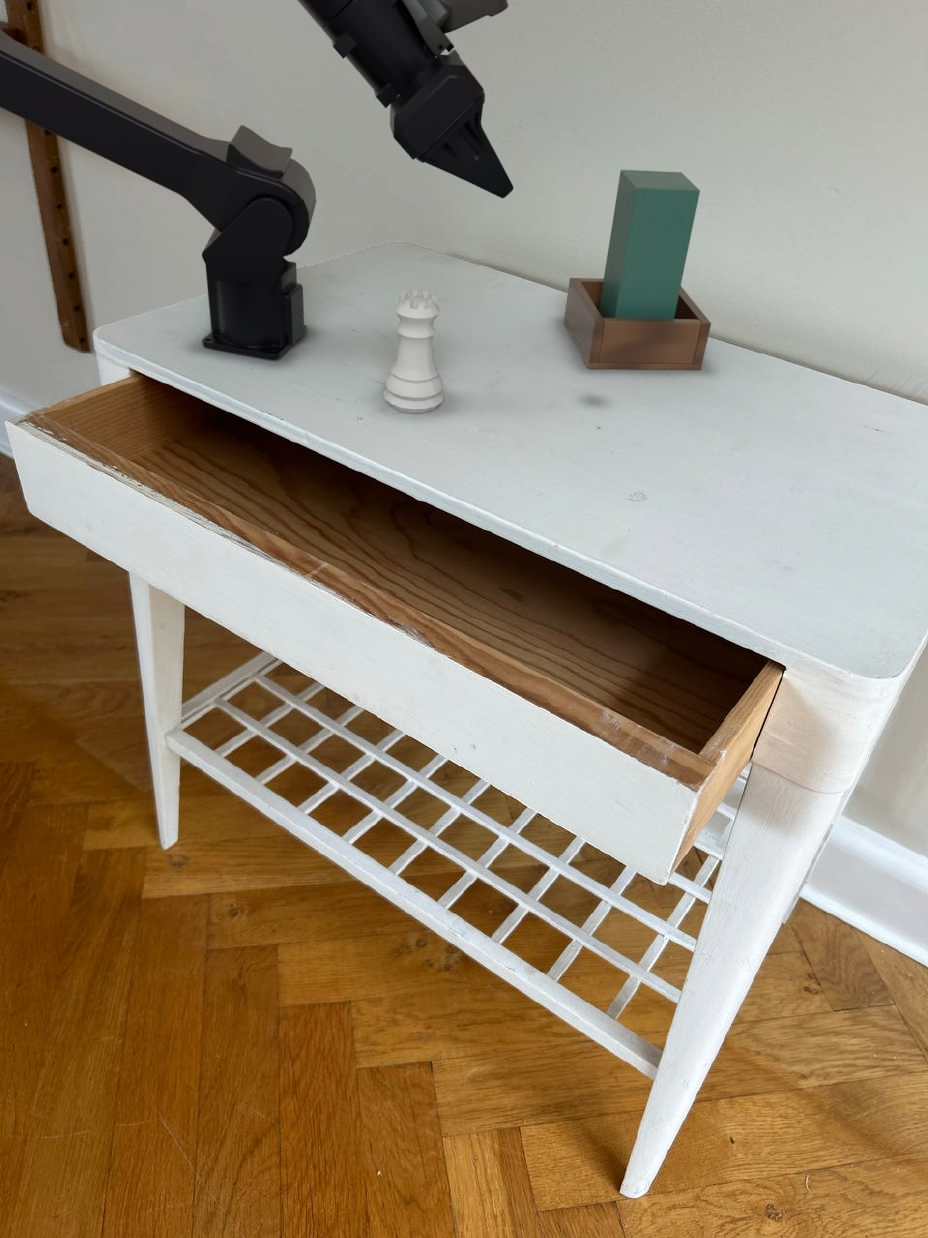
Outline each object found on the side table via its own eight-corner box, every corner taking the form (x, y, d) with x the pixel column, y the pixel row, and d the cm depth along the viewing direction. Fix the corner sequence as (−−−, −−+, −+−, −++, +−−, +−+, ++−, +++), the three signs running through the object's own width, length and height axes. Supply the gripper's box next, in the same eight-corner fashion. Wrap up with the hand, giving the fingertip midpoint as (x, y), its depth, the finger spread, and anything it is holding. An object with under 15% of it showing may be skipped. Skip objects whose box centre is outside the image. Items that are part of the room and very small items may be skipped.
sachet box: (608, 352, 83) (636, 187, 75) (595, 328, 87) (620, 169, 79) (667, 353, 84) (700, 190, 76) (651, 329, 88) (681, 171, 80)
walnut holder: (587, 368, 82) (595, 320, 79) (563, 322, 89) (569, 277, 87) (700, 369, 83) (711, 323, 81) (667, 324, 91) (676, 279, 88)
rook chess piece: (455, 403, 75) (462, 298, 70) (413, 421, 72) (417, 313, 68) (413, 383, 77) (417, 279, 72) (370, 399, 75) (372, 293, 70)
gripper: (458, -94, 57) (614, 126, 66) (425, -113, 72) (557, 69, 80) (321, 55, 61) (485, 245, 69) (316, 9, 75) (452, 170, 84)
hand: (498, 175), depth 76 cm, fingers open, 9 cm apart
